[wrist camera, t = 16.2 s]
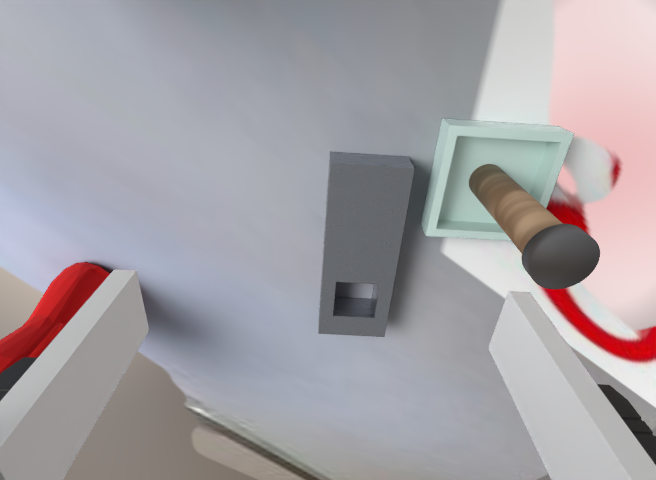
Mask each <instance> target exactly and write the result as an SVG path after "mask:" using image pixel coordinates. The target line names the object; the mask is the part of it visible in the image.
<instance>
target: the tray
mask: <svg viewBox="0 0 656 480" xmlns="http://www.w3.org/2000/svg"><path fill="white" fill-rule="evenodd" d="M573 135H574V133H572V132H570V131H568V130H566V129H564V128H561V127H559V126H547V125H533V124H518V123H503V122H488V121H473V120H458V119H443V118H442V122H441V127H440V132H439V137H438V142H437V147H436V152H435V157H434V161H433V166H432V171H431V176H430V181H429V186H428V191H427V196H426V201H425V206H424V211H423V215H422V220H421V226H422V228H423V230H424V232H425V235H426V236H437V237H454V238H471V239H488V240H505V241H512V240H511V239H510V238H509V237H508V236H507V234H506V233H505V232H504V231H503V229H502V228H501V227H500V226H499V224H498V223H497V222H496V221H495V220H494V218H493V217H492V216H491V215H490V213H489V212H488V211H487V210H486V208H485V207H484V206H483V205H482V204H481V202H480V201H479V200H478V199H477V197H476V196H475V195H474V194H473V192H472V191H471V190H470V188H469V178H470V176H471V174H472V173H473V171H474V170H475V169H477V168H478V167H480V166H482V165H485V164H494V165H497V166H498V167H500V168H501V169H502V170H503V171H504V172H505V173H506V174H508V175H509V176H510V177H511V178H512V179H513V180H514V181H515V182H517V183H518V184H519V185H520V186H521V187H522V188H523V189H524V190H526V191H527V192H528V193H529V194H530V195H531V196H532V197H533V198H535V199H536V200H537V201H538V202H539V203H540V204H541V205H543V206H544V207H545V208H546V207H547V205H548V202H549V199H550V197H551V194H552V191H553V189H554V186H555V183H556V181H557V178H558V175H559V173H560V170H561V167H562V165H563V162H564V159H565V157H566V154H567V151H568V149H569V146H570V143H571V141H572V138H573Z"/></svg>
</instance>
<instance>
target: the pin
mask: <svg viewBox="0 0 656 480" xmlns="http://www.w3.org/2000/svg"><path fill="white" fill-rule="evenodd" d="M469 188H470V190H471V191H472V192H473V194H474V195H475V196H476V197H477V199H478V200H479V201H480V202H481V204H482V205H483V206H484V207H485V208H486V210H487V211H488V212H489V213H490V215H491V216H492V217H493V218H494V220H495V221H496V222H497V223H498V224H499V226H500V227H501V228H502V229H503V231H504V232H505V233H506V234H507V236H508V237H509V238H510V239H511V240H512V242H513V243H514V244H515V245H516V247H517V248H518V249H519V250H520V252H521V253H522V264H523V266H524V268H525V270H526V271H527V272H528V274H529V275H530V276H531V278H532V279H533V280H534V281H535V282H536V283H537V284H538V285H540V286H542V287H544V288H548V289H562V288H567V287H570V286H573V285H575V284H577V283H579V282H581V281H582V280H584V279H585V278H586V277H587V276H589V275H590V273H591V272H592V271H593V270H594V269H595V267H596V265H597V263H598V261H599V257H600V249H599V246H598V244H597V242H596V241H595V240H594V239H593V238H592V237H590V236H589V235H588V234H587V233H586V232H585V231H583V230H582V229H581V228H579V227H577V226H575V225H571V224H563V223H562V222H561V221H559V220H558V219H557V218H556V217H555V216H554V215H553V214H552V213H550V212H549V211H548V210H547V209H546V208H545V207H544V206H543V205H541V204H540V203H539V202H538V201H537V200H536V199H535V198H533V197H532V196H531V195H530V194H529V193H528V192H527V191H526V190H524V189H523V188H522V187H521V186H520V185H519V184H518V183H517V182H515V181H514V180H513V179H512V178H511V177H510V176H509V175H508V174H506V173H505V172H504V171H503V170H502V169H501V168H500V167H498V166H497V165H494V164H485V165H482V166H480V167H478V168H477V169H475V170H474V171H473V173H472V174H471V176H470V178H469Z"/></svg>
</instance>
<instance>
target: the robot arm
mask: <svg viewBox="0 0 656 480" xmlns="http://www.w3.org/2000/svg"><path fill="white" fill-rule="evenodd" d="M148 332H149V326H148V322H147V317H146V312H145V308H144V303H143V299H142V294H141V289H140V285H139V280H138V275H137V271H134V270H116V269H114V270H113V271H112V272H111V274H110V275H109V276H108V277H107V278H106V279H105V281H104V282H103V283H102V284H101V285H100V286H99V288H98V289H97V290H96V291H95V292H94V293H93V294H92V296H91V297H90V298H89V299H88V300H87V301H86V303H85V304H84V305H83V306H82V307H81V308H80V310H79V311H78V312H77V313H76V314H75V315H74V316H73V318H72V319H71V320H70V321H69V322H68V323H67V325H66V326H65V327H64V328H63V329H62V330H61V332H60V333H59V334H58V335H57V336H56V337H55V339H54V340H53V341H52V342H51V343H50V344H49V345H48V347H47V348H46V349H45V350H44V351H43V352H42V354H41V355H40V356H39V357H38V358H31V357H23V358H22V359H20V360H19V361H17V362H16V363H14V364H13V365H11V366H10V367H9V368H7V369H6V370H4V371H3V372H2V373H1V374H0V480H63V478H64V476H65V475H66V473H67V471H68V469H69V468H70V466H71V464H72V463H73V461H74V459H75V457H76V456H77V454H78V452H79V451H80V449H81V447H82V445H83V444H84V442H85V440H86V439H87V437H88V435H89V433H90V432H91V430H92V428H93V426H94V425H95V423H96V421H97V420H98V418H99V416H100V414H101V413H102V411H103V409H104V408H105V406H106V404H107V402H108V401H109V399H110V397H111V396H112V394H113V392H114V390H115V388H116V387H117V385H118V383H119V382H120V380H121V378H122V377H123V375H124V373H125V371H126V370H127V368H128V366H129V364H130V363H131V361H132V359H133V358H134V356H135V354H136V352H137V351H138V349H139V347H140V346H141V344H142V342H143V340H144V339H145V337H146V335H147V334H148ZM488 348H489V351H490V353H491V355H492V357H493V359H494V361H495V363H496V365H497V367H498V369H499V371H500V374H501V376H502V378H503V380H504V382H505V384H506V386H507V388H508V390H509V392H510V394H511V397H512V399H513V401H514V403H515V405H516V407H517V409H518V411H519V413H520V415H521V417H522V419H523V422H524V424H525V426H526V428H527V430H528V432H529V434H530V436H531V438H532V440H533V442H534V445H535V447H536V449H537V451H538V453H539V455H540V457H541V459H542V461H543V463H544V465H545V468H546V470H547V472H548V474H549V476H550V478H551V480H656V436H653V434H652V433H653V432H652V431H651V430H650V428H649V427H648V426H647V424H646V423H645V422H644V421H642V420H641V417H640V415H639V414H638V413H637V412H636V410H635V409H634V408H633V406H632V405H631V404H630V403H629V401H628V400H627V399H626V398H624V397H623V396H622V395H621V394H620V393H618V392H617V391H616V390H615V389H613V388H612V387H611V386H610V385H600V384H596V382H595V381H594V380H593V378H592V377H591V376H590V374H589V373H588V371H587V370H586V369H585V367H584V366H583V365H582V363H581V362H580V360H579V359H578V358H577V356H576V355H575V354H574V352H573V351H572V350H571V348H570V347H569V345H568V344H567V343H566V341H565V340H564V339H563V337H562V336H561V334H560V333H559V332H558V330H557V329H556V328H555V326H554V325H553V323H552V322H551V321H550V319H549V318H548V317H547V315H546V314H545V312H544V311H543V310H542V308H541V307H540V306H539V304H538V303H537V301H536V300H535V299H534V297H533V296H532V295H531V293H530V292H514V291H509V292H508V295H507V297H506V300H505V303H504V306H503V308H502V311H501V314H500V317H499V319H498V322H497V325H496V328H495V330H494V333H493V336H492V339H491V341H490V344H489V347H488Z"/></svg>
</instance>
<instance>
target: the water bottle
mask: <svg viewBox="0 0 656 480" xmlns="http://www.w3.org/2000/svg"><path fill="white" fill-rule="evenodd" d="M109 275H110V273H108V272H107V271H105V270H104V269H103V268H101V267H100V266H97V265H94V264H90V263H87V262H84V263H76V264H74V265H72V266H70V267H68V268H66V269H64V270H63V271H62V272H61V273H60V274H59V275H58V276H57V277H56V278H55V279H54V280H53V281H52V282H51V284H50V286H49V287H48V289H47V290H46V292H45V294H44V295H43V297H42V299H41V300H40V302H39V303H38V305H37V307H36V308H35V310H34V311H33V313H32V315H31V316H30V318H29V319H28V320H27V322H26V323H25V324H24V325H23V326H22V327H20V328H19V329H17V330H16V331H14V332H13V333H11V334H9V335H8V336H6V337H5V338H3V339H1V340H0V374H1V373H2V372H3V371H4V370H6V369H7V368H9V367H10V366H11V365H13V364H14V363H16V362H17V361H19V360H20V359H22V358H23V357H31V358H38V357H39V356H40V355H41V354H42V352H43V351H44V350H45V349H46V348H47V347H48V345H49V344H50V343H51V342H52V341H53V340H54V339H55V337H56V336H57V335H58V334H59V333H60V332H61V330H62V329H63V328H64V327H65V326H66V325H67V323H68V322H69V321H70V320H71V319H72V318H73V316H74V315H75V314H76V313H77V312H78V311H79V310H80V308H81V307H82V306H83V305H84V304H85V303H86V301H87V300H88V299H89V298H90V297H91V296H92V294H93V293H94V292H95V291H96V290H97V289H98V288H99V286H100V285H101V284H102V283H103V282H104V281H105V279H106V278H107V277H108V276H109Z"/></svg>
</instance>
